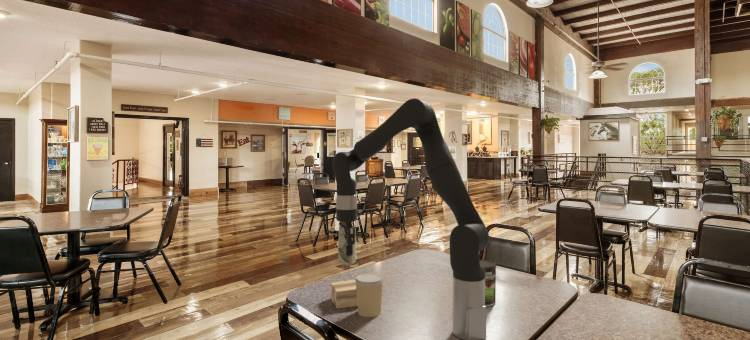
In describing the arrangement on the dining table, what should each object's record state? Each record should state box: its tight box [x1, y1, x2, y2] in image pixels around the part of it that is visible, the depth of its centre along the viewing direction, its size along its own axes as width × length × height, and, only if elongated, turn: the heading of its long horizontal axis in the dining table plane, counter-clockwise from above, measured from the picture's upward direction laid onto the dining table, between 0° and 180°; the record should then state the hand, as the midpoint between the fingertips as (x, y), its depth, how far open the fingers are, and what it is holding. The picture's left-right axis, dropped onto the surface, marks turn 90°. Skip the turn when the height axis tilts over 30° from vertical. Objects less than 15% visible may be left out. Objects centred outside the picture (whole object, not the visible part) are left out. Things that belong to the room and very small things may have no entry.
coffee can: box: [479, 258, 497, 308], centre depth 137 cm, size 10×10×14 cm
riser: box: [330, 279, 358, 310], centre depth 138 cm, size 10×10×6 cm
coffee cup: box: [354, 273, 384, 318], centre depth 128 cm, size 9×9×12 cm
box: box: [337, 227, 357, 266], centre depth 137 cm, size 5×4×13 cm
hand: (347, 252), depth 137 cm, fingers closed on box, 6 cm apart
